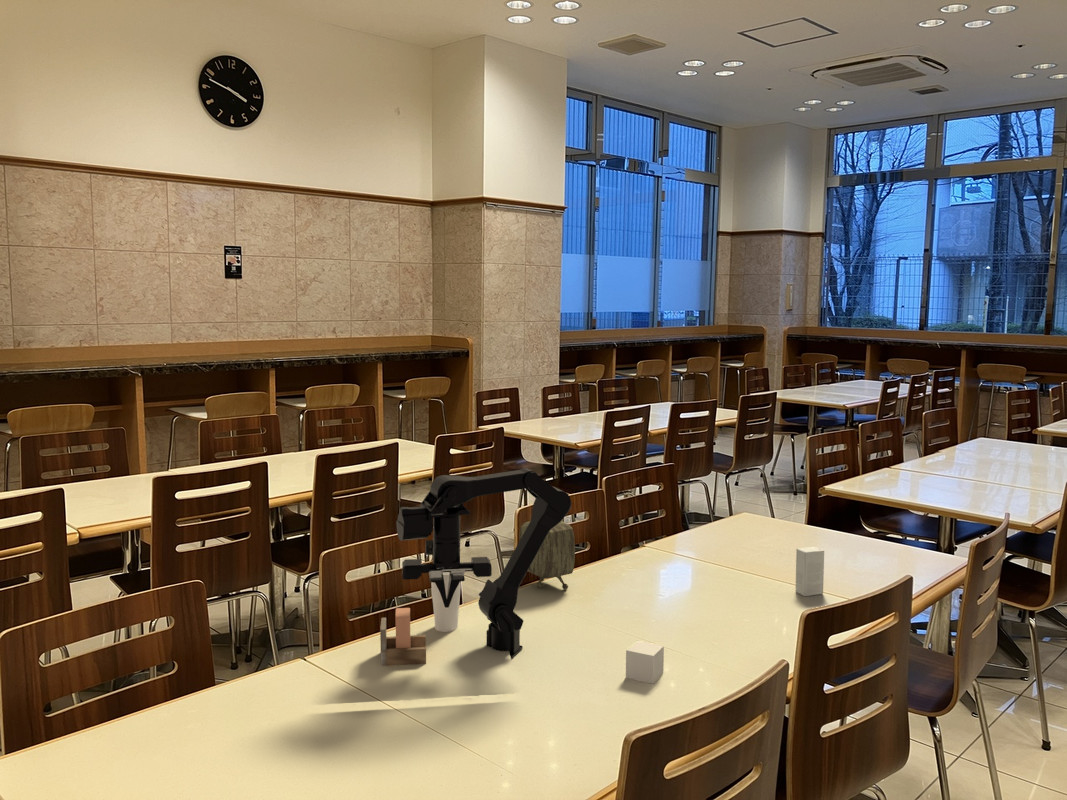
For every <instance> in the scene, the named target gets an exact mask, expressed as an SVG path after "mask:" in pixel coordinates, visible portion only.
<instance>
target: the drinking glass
mask: <svg viewBox="0 0 1067 800" xmlns="http://www.w3.org/2000/svg"><path fill="white" fill-rule="evenodd" d="M443 577H444V584H445V591H446V598H447V591H448V583H449V572H443ZM461 582H462V581H461ZM461 582H460V583H459V585H458V586H457V588H456V590H455V592H454V594H453V597H452V600H451V603H450V605H449V607H448V608H445V606H444V603H443V600H442V597H441V594H440V592H439V590H438V588H437V586H436V584H435V583H434V582H430V583H431V585H430V586H431V596H432V597H431V598H432V607H433V615H434V616H433V617H434V629H435V630H436V631H437V632H441V633H442V632H444V633H450V632H454V631H456V630H457V629H458V627H459V612H460V611H459V610H460V598H461V586H462V584H461Z"/></svg>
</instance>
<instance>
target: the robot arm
mask: <svg viewBox="0 0 1067 800" xmlns="http://www.w3.org/2000/svg"><path fill="white" fill-rule="evenodd" d="M429 489H430V490H429V491H428V493H427V494H426V495H425V497H424V498H423V500H422V501H421V503H420V506H411V507H408V506H401V507H399V513H398V515H397V520H396V521H395V522H396V533H397V536H398V537H397V538H398V540H399V541H411V540H419V539H420V540H422V539H427V538H428V537H429V536H433V537H432V539H431V540H430V539H427V540H425V543H424V545H425V556H432V559H431V560H432V563H422V560H421V558H416V559H415V558H414V559H413V558H411V559H410V558H409V559H408V558H407V559H406V558H405V559H404V560H403V561H402V563H401V564H402V565H401V566H402V572H401V573H402V580H406V581H407V580H418V579H419V578H421V576H422V574H428V577H429V582H430V583H431V582H434V583H435V584H436V586H437V588H438V590H439V592H440V594H441V597H442V600H443V603H444V606H445V608H448V607H449V605H450V603H451V600H452V597H453V594H454V592H455V590H456V588H457V586H458V585H459V583H460V582H464V581H466V580H465V579H466V578H465V574H466V572H473V574H474V576H475V577H477V578H484V577H487V578H488V577H492V570H493V569H492V563H491V560H490V559H489V557H488V556H472V557H470V558H471V559H470V561H469V562H461V516H467V515H468V516H469V515H471V511H470V510H468V509H467V508H466V507H465V505H464V504H466V503H468V502H469V501H472V500H473V499H476V498H478V497H481V496H488V495H493V494H494V495H495V494H502V493H506V492H513V491H519V490H526V491H527V492H528V494H530V495H531V496H532V497H533V498H535V499H534V501H533V504H532V510H531V518H530V523H529V525H528V527H527V528H526V530H525V532H524V534H523V536H522V538H521V539H520V541H519V540H518V543H517V544H516V547H515V548H514V551H513V552H512V554H511V556H510V558H509V559H508V561H507V562H506V565H505V567H504V569H503V570H502V572H501V574H500V575H499V577H497V578H496V579H494V581H492V580H491V579H487V580H486V582H485V585H484V587H483V589H482V590H481V591H480V592H479V593H478V596H479V599H478V607H479V610H480V612H481V613H482V614H483V615H484V616H485V617H486V619H487V620H488V621H490V623H489V624H488V629H487V630H486V646H487V647H488V648H490V649H493V651H494V650H495V651H497V652H509V657H510V659H513V658H514V657H515V656H516V655H517V654H519V652H520V651H522V649H523V647H524V646H523V645H521V643H520V641H521V640H520V639H521V638H520V637H521V635H520V633H521V632H520V631H521V629H522V627H523V625H524V624H523V623H524V618H521V616H519V615H518V614H517V613H516V612H515V608H516V606H517V603H518V596H519V595H518V594H519V588H520V585H521V584H522V582H523V580H524V578H525V577H526V574H527V573H528V569H529V567H530V566H531V564H532V562H533V560H534V558H535V556H536V555H537V553H538V551H539V549H540V547H541V545H542V544H543V542H544V540H545V538H546V536H547V535H548V533H549V531H550V530H551V529H552V528H553V527H555V526H556V525H557V524H559V523H560V522H561V521H563V520H564V519H565V517H566V516H567V514H568V513H569V512H570V510H571V507H572V500H571V497H570V495H569V493H567V492H566V491H564V490H561V489H560V488H558V487H555V486H552V484H550V483H548V482H547V481H546V480H544V479H543V478H542V477H541V476H540V475H538V473H537V472H536V471H534V470H531V469H530V468H527V467H526V468H525V467H522V468H520V469H517V470H510V471H503V472H497V473H491V474H484V475H477V476H462V475H451V474H442V475H439V476H436V477H435V478H434V479H433V481H432V482H431V485H430V488H429ZM443 572H449V583H448V591H447V598H446V591H445V584H444V577H443Z"/></svg>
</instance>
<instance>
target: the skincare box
mask: <svg viewBox="0 0 1067 800" xmlns="http://www.w3.org/2000/svg"><path fill="white" fill-rule="evenodd" d="M795 552H796V555H795V556H796V557H795V561H796V562H795V593H797V594H799V595H801V596H803V597H810V596H814V595H815V596H816V595H823V594H824V574H825V573H824V572H825V571H824V570H825V550H824V549H821V548H820V547H817V546H809V547H808V546H807V547H800V548H799V547H798V548H796V551H795Z"/></svg>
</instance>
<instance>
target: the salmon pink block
mask: <svg viewBox="0 0 1067 800" xmlns="http://www.w3.org/2000/svg"><path fill="white" fill-rule="evenodd" d="M395 636H396V649H397V648H411V643H410V636H411V608H410V607H398V608H395Z"/></svg>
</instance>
